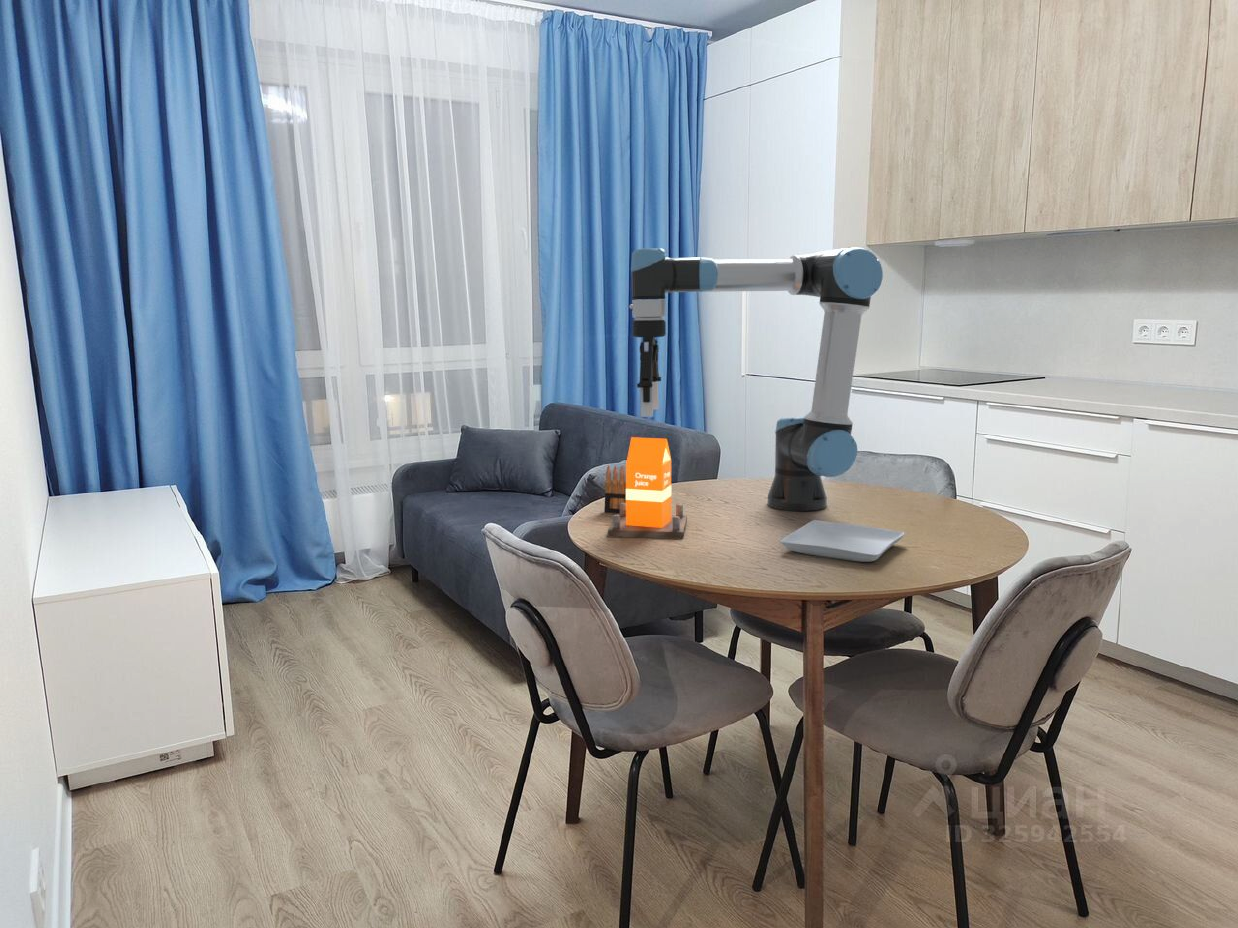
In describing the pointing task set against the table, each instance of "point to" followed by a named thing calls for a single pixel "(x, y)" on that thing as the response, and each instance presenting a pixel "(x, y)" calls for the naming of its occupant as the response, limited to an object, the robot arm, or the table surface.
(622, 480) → the ammunition clip
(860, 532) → the salad plate
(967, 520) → the table surface
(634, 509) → the orange juice
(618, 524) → the peg stand
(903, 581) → the table surface
